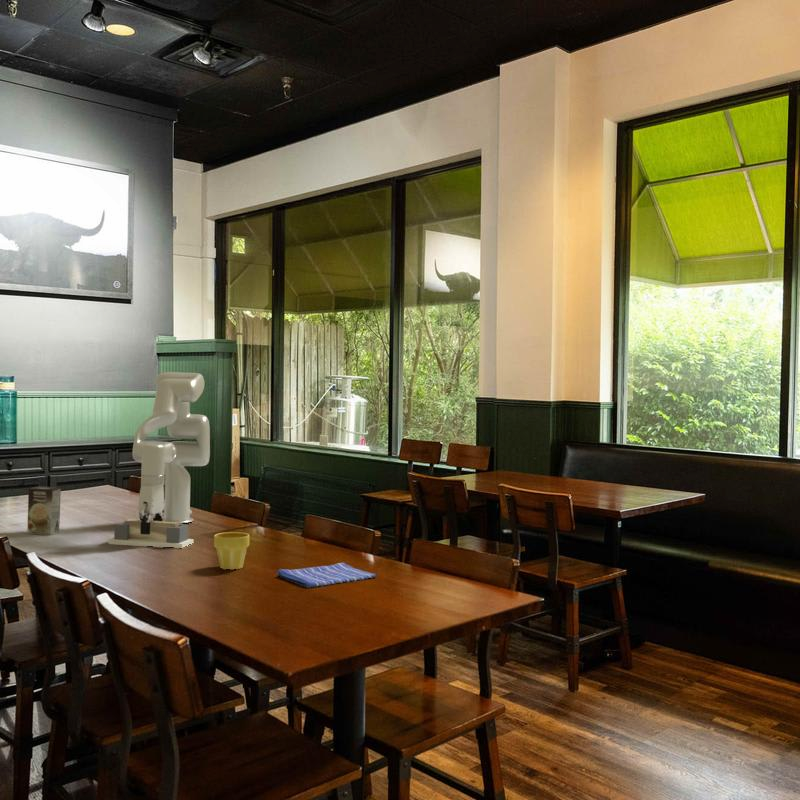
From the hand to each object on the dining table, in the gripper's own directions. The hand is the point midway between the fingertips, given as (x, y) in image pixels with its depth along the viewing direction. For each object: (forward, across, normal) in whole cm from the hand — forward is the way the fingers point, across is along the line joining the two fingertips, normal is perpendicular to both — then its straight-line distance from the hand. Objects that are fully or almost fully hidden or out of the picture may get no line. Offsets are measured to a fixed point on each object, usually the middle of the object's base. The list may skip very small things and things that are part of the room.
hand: (151, 531), depth 271 cm
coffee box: (+4, -7, -44) cm, 45 cm away
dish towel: (+5, +30, +68) cm, 74 cm away
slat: (+3, 0, 0) cm, 3 cm away
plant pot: (+4, +26, +38) cm, 46 cm away
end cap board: (+4, 0, 0) cm, 4 cm away
